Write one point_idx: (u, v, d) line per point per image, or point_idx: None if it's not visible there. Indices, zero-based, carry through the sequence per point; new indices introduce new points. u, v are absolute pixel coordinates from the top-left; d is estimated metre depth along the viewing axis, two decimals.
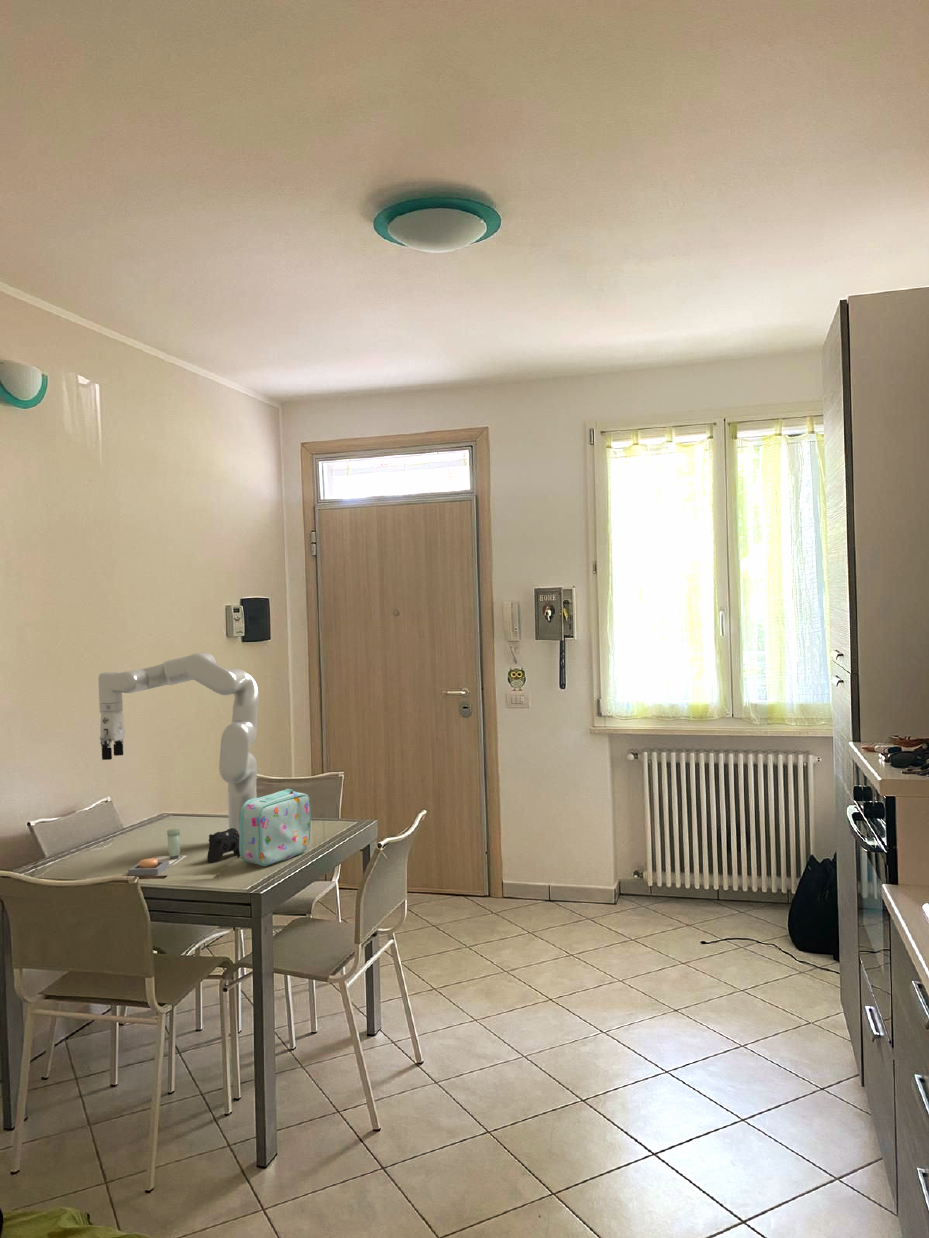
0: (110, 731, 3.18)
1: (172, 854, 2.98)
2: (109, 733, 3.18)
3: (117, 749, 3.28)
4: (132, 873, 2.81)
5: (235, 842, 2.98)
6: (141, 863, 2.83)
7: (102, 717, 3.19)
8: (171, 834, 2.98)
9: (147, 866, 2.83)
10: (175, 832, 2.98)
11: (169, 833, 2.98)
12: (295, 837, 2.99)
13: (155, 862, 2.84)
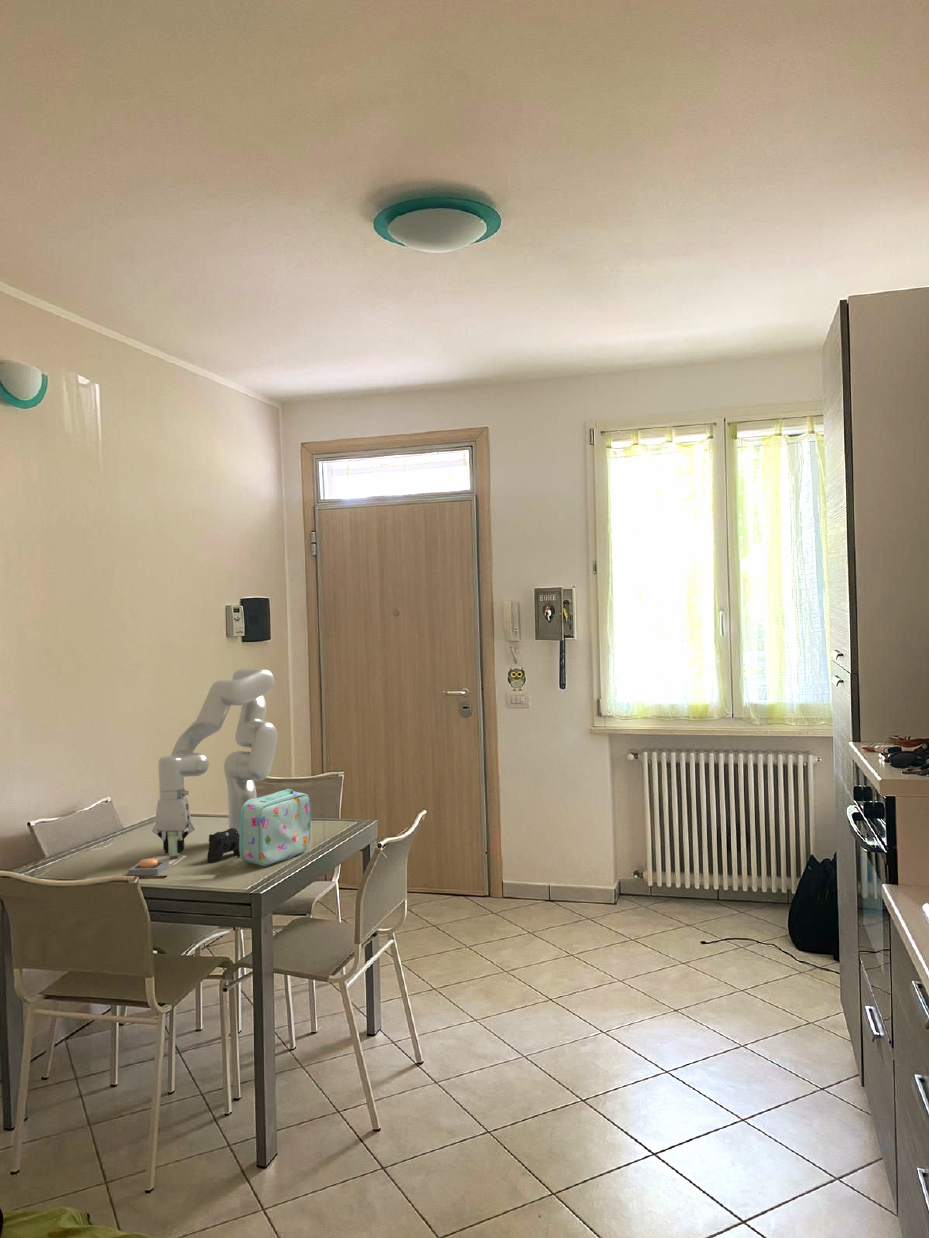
0: (190, 817, 3.01)
1: (172, 854, 2.98)
2: (189, 819, 3.00)
3: None
4: (132, 873, 2.81)
5: (235, 842, 2.98)
6: (141, 863, 2.83)
7: (184, 804, 2.98)
8: (171, 834, 2.98)
9: (147, 866, 2.83)
10: (175, 832, 2.98)
11: (169, 833, 2.98)
12: (295, 837, 2.99)
13: (155, 862, 2.84)
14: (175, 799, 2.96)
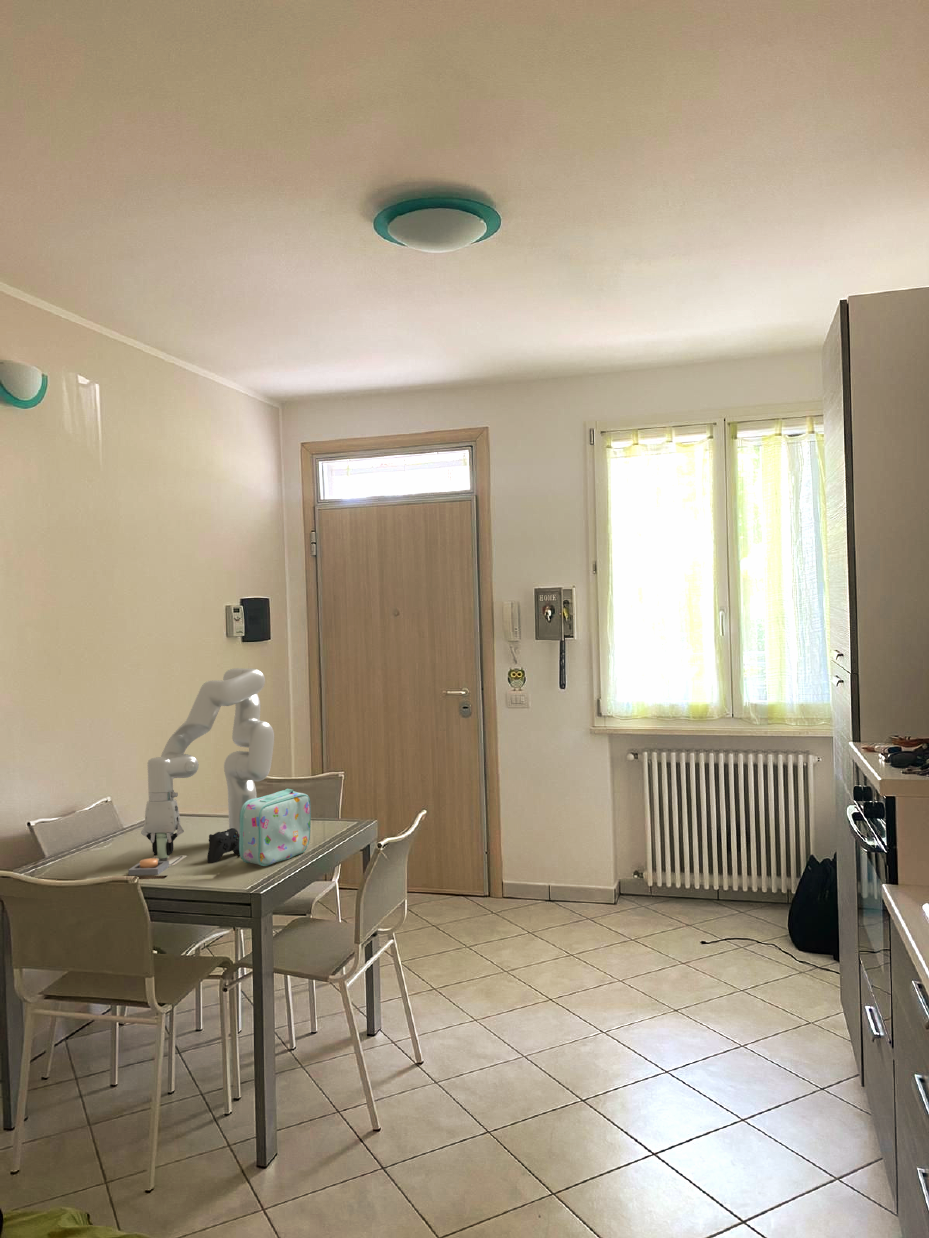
0: (179, 819, 2.98)
1: (161, 856, 2.95)
2: (179, 821, 2.98)
3: None
4: (132, 873, 2.81)
5: (235, 842, 2.98)
6: (141, 863, 2.83)
7: (173, 805, 2.96)
8: (160, 836, 2.95)
9: (147, 866, 2.83)
10: (164, 834, 2.96)
11: (158, 835, 2.95)
12: (295, 837, 2.99)
13: (155, 862, 2.84)
14: (164, 801, 2.94)
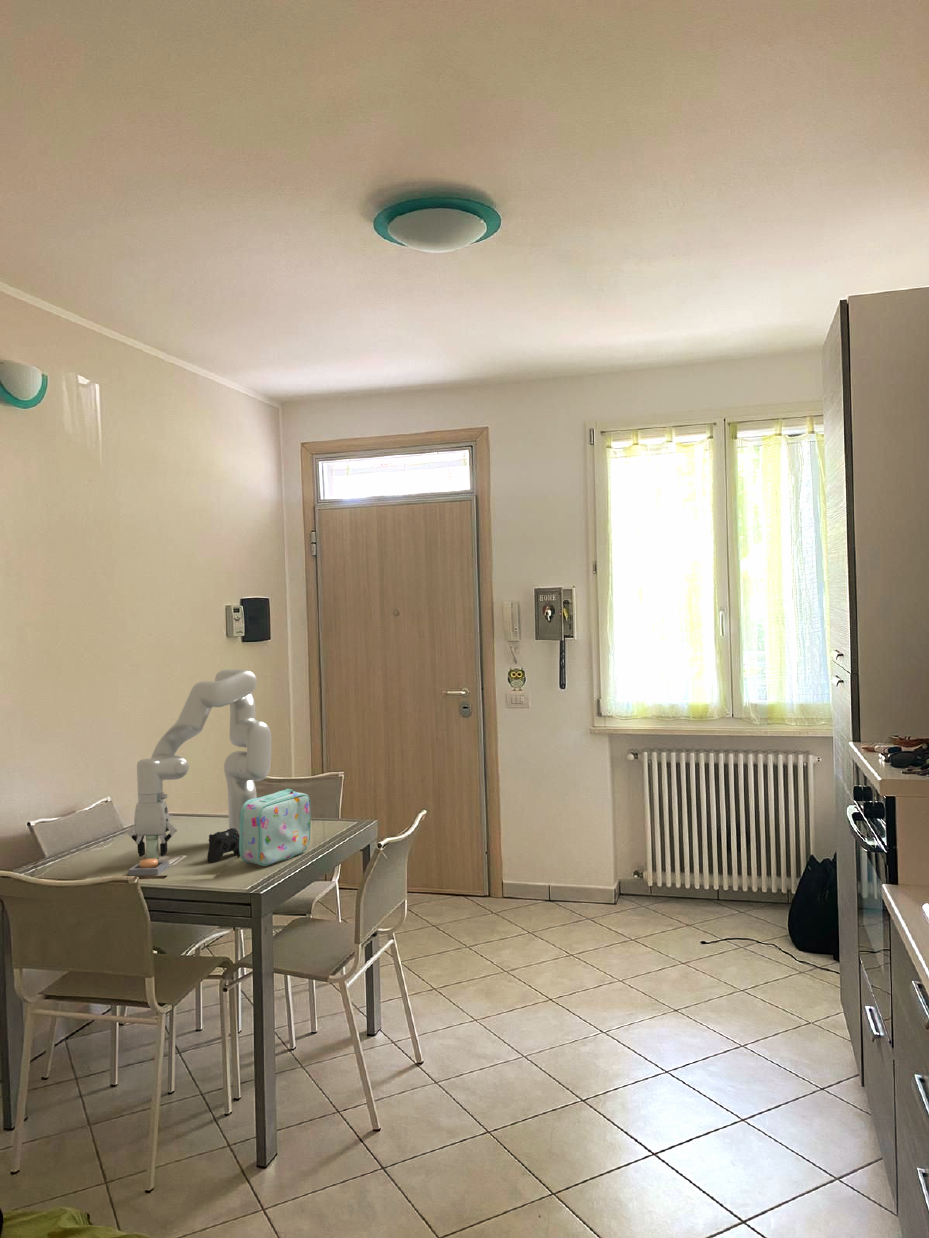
0: (169, 820, 2.96)
1: None
2: (168, 823, 2.96)
3: (142, 849, 2.95)
4: (132, 873, 2.81)
5: (235, 842, 2.98)
6: (141, 863, 2.83)
7: (163, 807, 2.93)
8: (151, 838, 2.93)
9: (147, 866, 2.83)
10: (155, 836, 2.93)
11: (148, 837, 2.93)
12: (295, 837, 2.99)
13: (155, 862, 2.84)
14: (153, 803, 2.92)
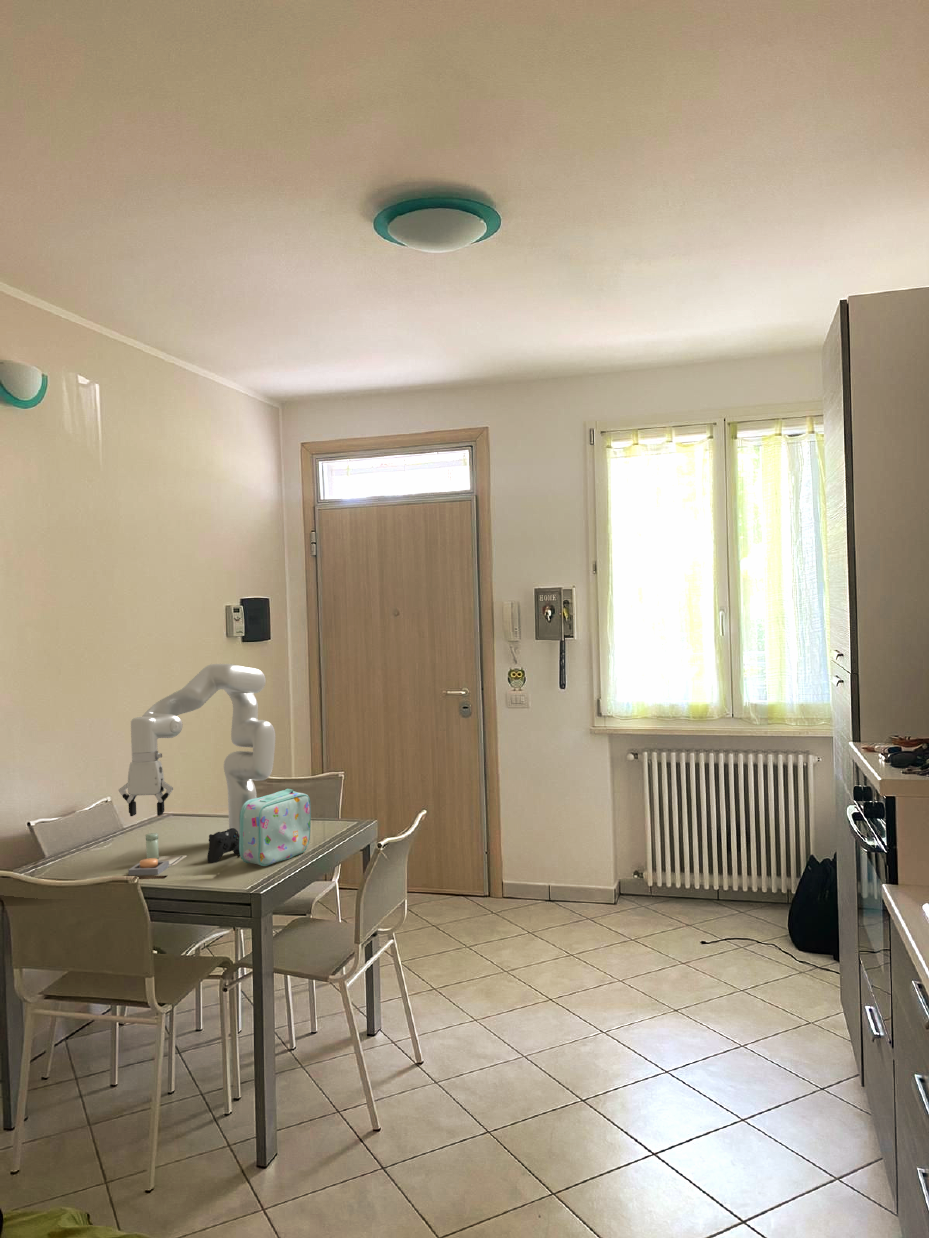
0: (163, 781, 2.87)
1: None
2: None
3: (134, 808, 2.85)
4: (132, 873, 2.81)
5: (235, 842, 2.98)
6: (141, 863, 2.83)
7: (157, 766, 2.84)
8: (150, 838, 2.93)
9: (147, 866, 2.83)
10: (154, 836, 2.93)
11: (148, 837, 2.93)
12: (295, 837, 2.99)
13: (155, 862, 2.84)
14: (148, 761, 2.82)
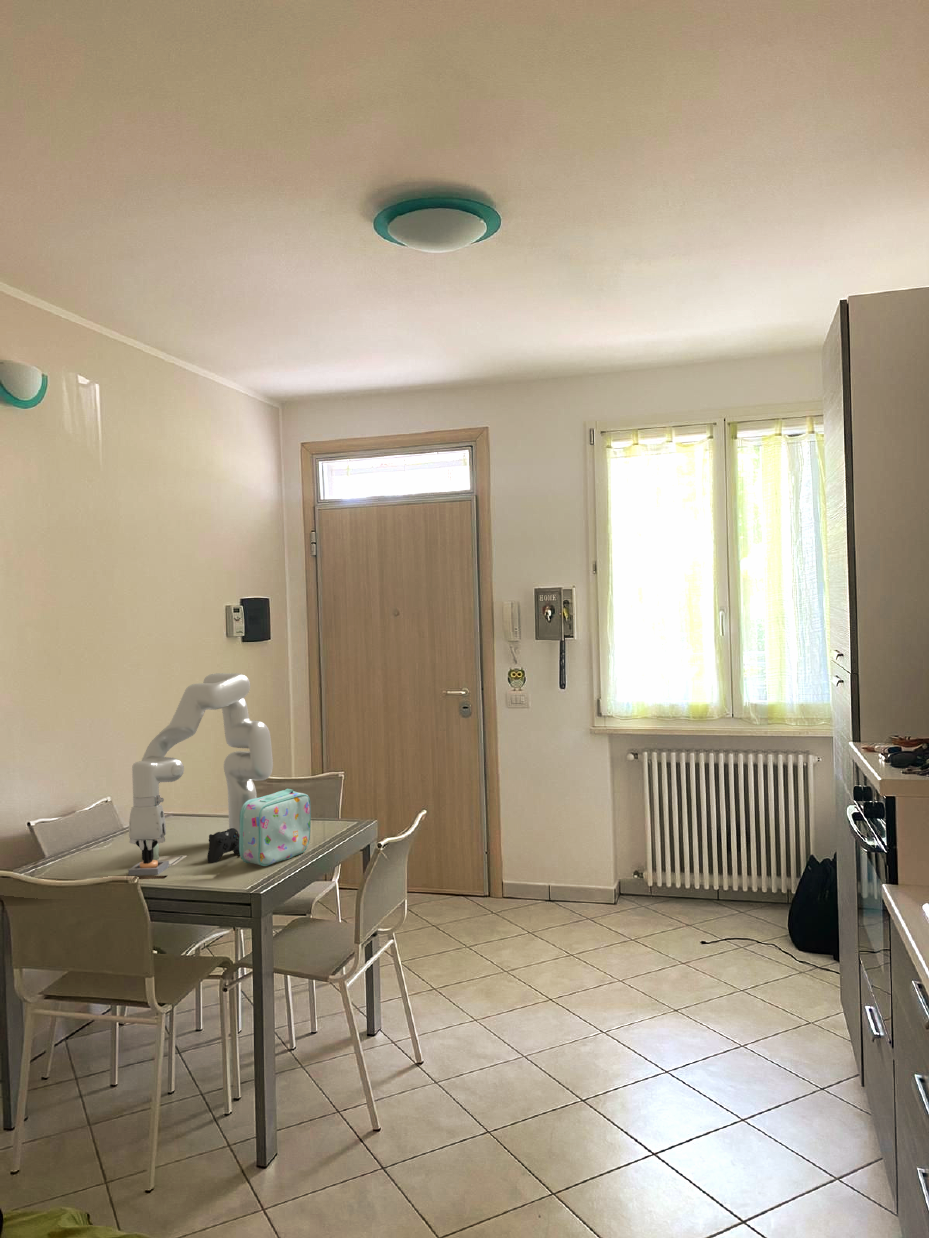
0: (165, 825, 2.86)
1: None
2: (164, 827, 2.86)
3: None
4: (132, 873, 2.81)
5: (235, 842, 2.98)
6: (141, 865, 2.83)
7: (159, 811, 2.84)
8: None
9: None
10: None
11: None
12: (295, 837, 2.99)
13: (155, 864, 2.84)
14: (149, 806, 2.82)
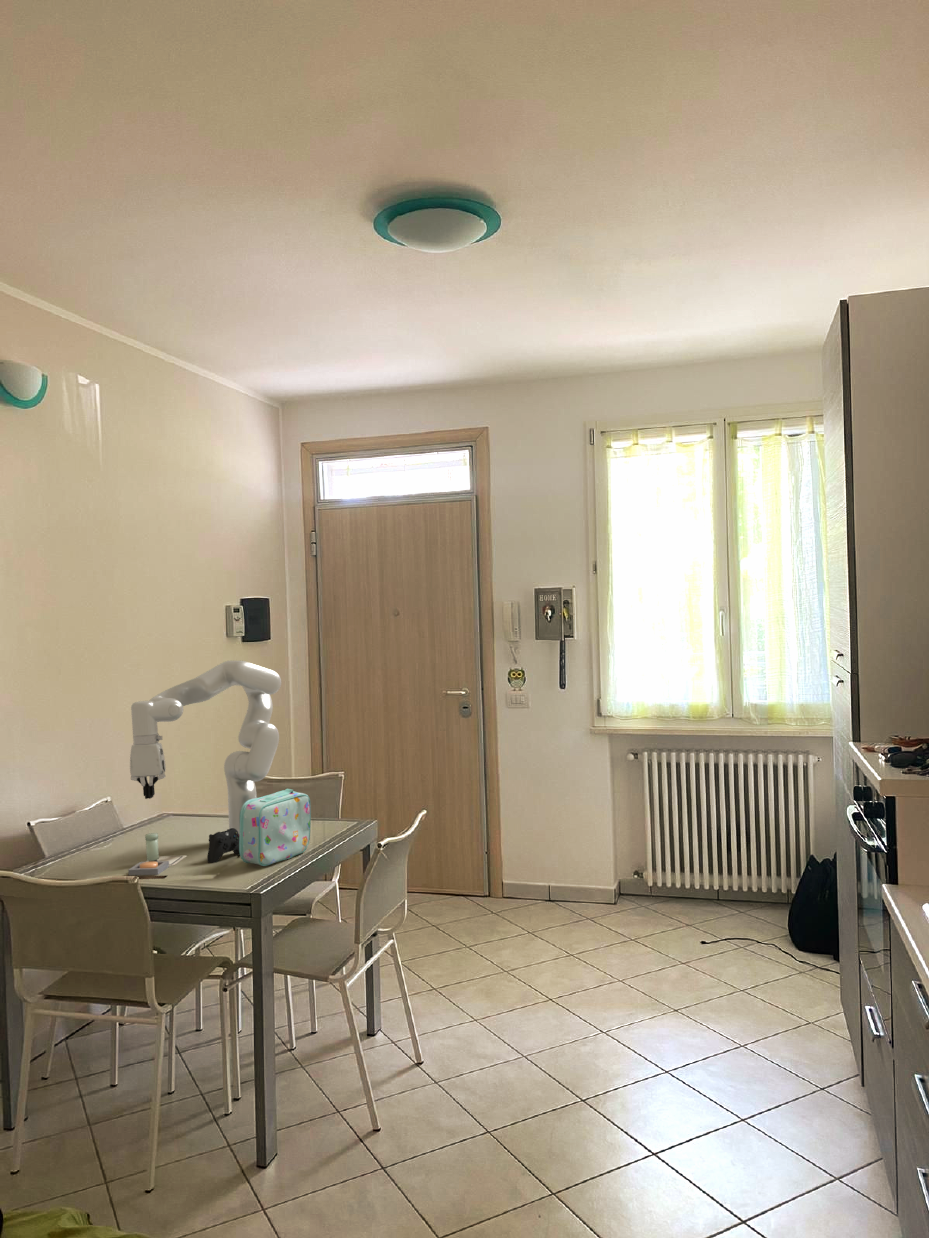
0: (164, 762, 2.98)
1: (152, 858, 2.93)
2: (164, 764, 2.97)
3: None
4: (132, 873, 2.81)
5: (235, 842, 2.98)
6: (141, 866, 2.83)
7: (159, 748, 2.95)
8: (150, 838, 2.93)
9: None
10: (154, 836, 2.93)
11: (148, 837, 2.93)
12: (295, 837, 2.99)
13: (155, 865, 2.84)
14: (149, 744, 2.93)
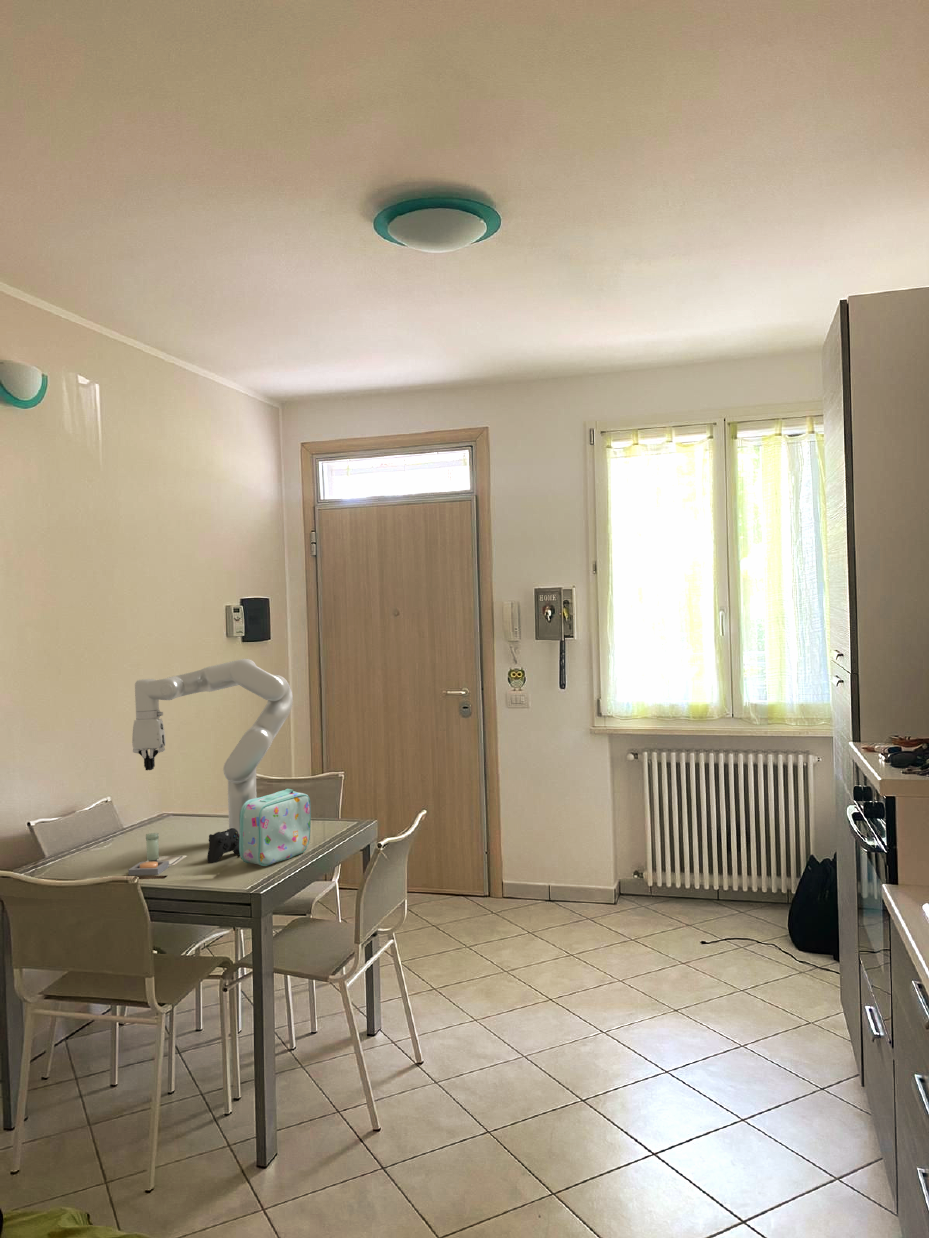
0: (164, 736, 3.19)
1: (152, 858, 2.93)
2: (164, 738, 3.19)
3: None
4: (132, 873, 2.81)
5: (235, 842, 2.98)
6: (141, 866, 2.83)
7: (159, 723, 3.16)
8: (151, 838, 2.93)
9: None
10: (155, 835, 2.94)
11: (149, 837, 2.93)
12: (295, 837, 2.99)
13: (155, 865, 2.84)
14: (150, 719, 3.15)
